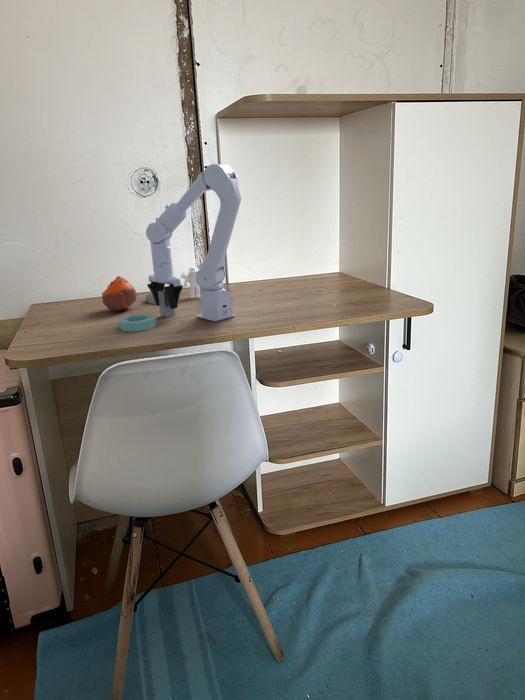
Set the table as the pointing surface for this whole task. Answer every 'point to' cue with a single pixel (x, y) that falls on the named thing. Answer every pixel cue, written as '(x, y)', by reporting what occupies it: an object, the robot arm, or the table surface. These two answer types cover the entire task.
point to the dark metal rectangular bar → (165, 305)
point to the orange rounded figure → (119, 295)
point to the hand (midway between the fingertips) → (166, 306)
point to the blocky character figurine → (191, 281)
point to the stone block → (151, 298)
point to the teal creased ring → (137, 322)
